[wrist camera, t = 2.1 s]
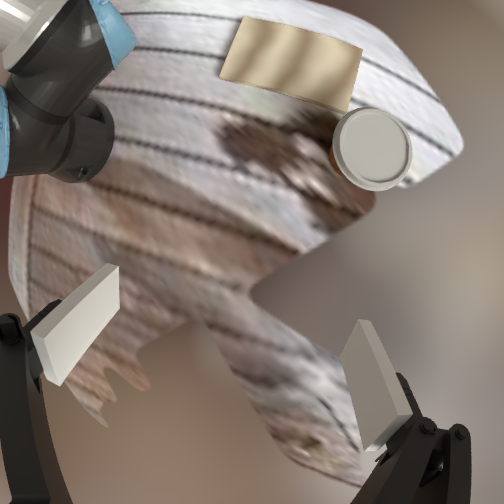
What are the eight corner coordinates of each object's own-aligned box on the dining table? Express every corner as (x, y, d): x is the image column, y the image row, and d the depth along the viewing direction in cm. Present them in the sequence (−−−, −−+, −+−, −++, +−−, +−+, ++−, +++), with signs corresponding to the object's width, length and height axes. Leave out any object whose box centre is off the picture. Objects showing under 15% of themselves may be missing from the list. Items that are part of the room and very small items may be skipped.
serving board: (221, 79, 36) (219, 76, 34) (244, 21, 33) (243, 16, 31) (344, 114, 35) (346, 112, 34) (360, 53, 32) (362, 49, 31)
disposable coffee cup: (309, 132, 37) (323, 112, 25) (369, 121, 35) (401, 100, 24) (327, 195, 39) (348, 200, 27) (386, 181, 37) (424, 182, 26)
